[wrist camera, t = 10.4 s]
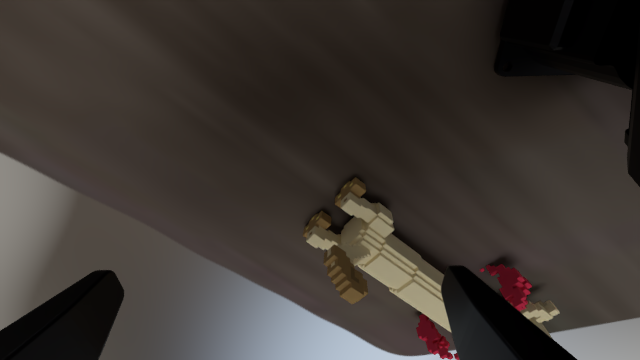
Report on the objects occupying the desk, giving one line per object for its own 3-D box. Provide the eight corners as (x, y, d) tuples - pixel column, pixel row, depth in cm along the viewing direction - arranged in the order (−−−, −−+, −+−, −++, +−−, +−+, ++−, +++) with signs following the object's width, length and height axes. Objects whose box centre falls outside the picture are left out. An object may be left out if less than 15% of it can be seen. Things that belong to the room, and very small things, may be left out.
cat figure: (291, 230, 25) (482, 357, 31) (268, 323, 17) (528, 468, 23) (374, 144, 21) (574, 311, 27) (394, 216, 13) (667, 426, 19)
